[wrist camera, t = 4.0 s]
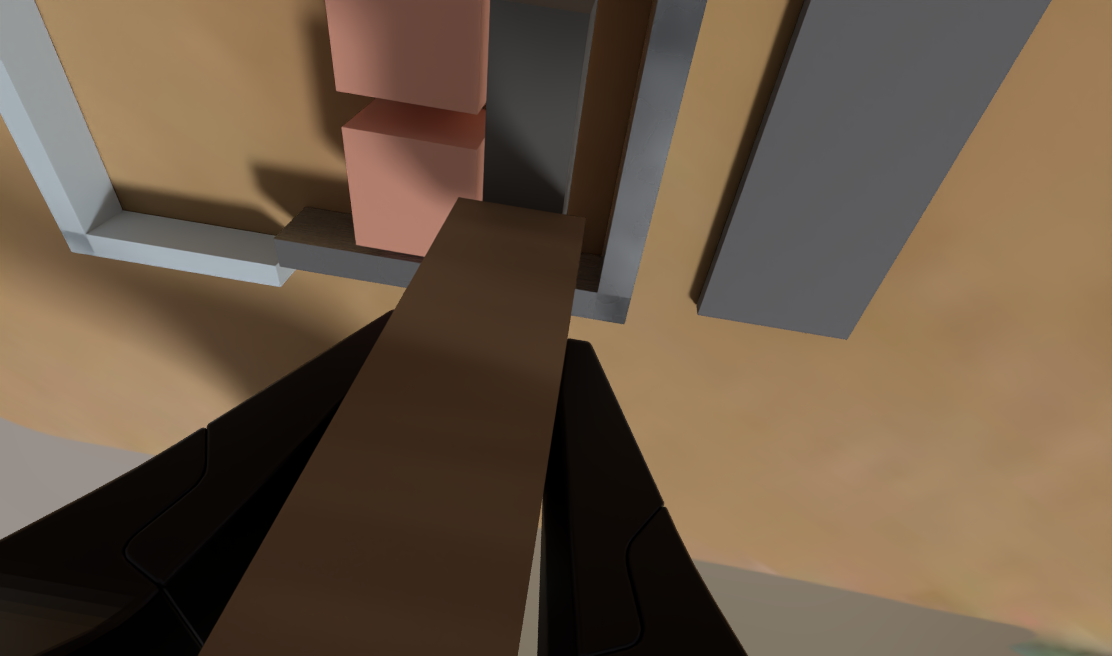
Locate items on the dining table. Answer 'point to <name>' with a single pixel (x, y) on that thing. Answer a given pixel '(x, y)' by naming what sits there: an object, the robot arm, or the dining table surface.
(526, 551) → the t-shaped scraper
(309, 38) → the dining table surface
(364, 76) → the dusty rose cube
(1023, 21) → the mat
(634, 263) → the slot channel
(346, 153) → the salmon pink cube
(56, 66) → the tray
